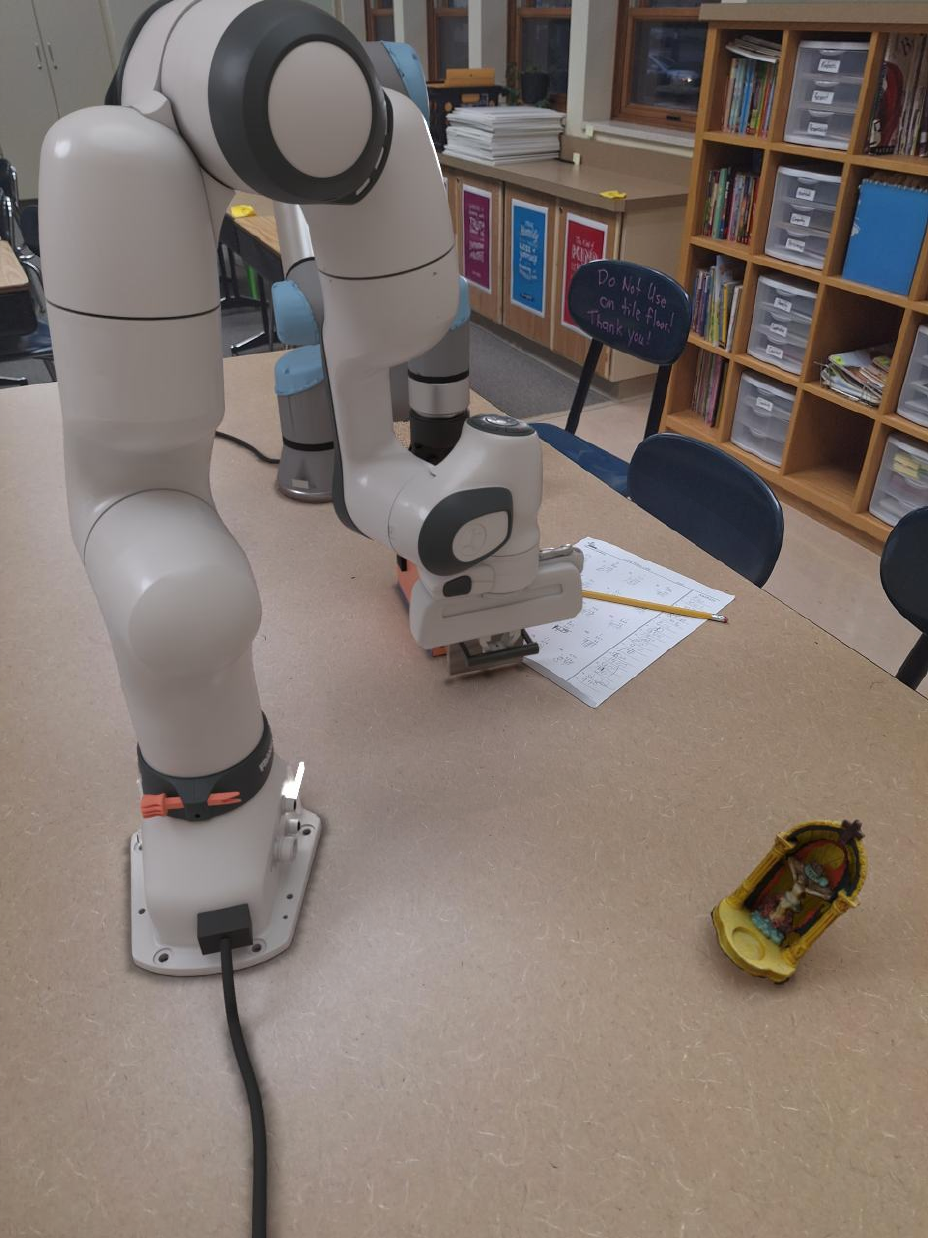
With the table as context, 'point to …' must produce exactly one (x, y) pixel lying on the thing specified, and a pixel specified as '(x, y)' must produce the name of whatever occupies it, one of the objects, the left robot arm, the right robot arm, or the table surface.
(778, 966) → the shrine
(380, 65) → the right robot arm
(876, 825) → the table surface
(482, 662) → the drawer
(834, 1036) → the table surface
